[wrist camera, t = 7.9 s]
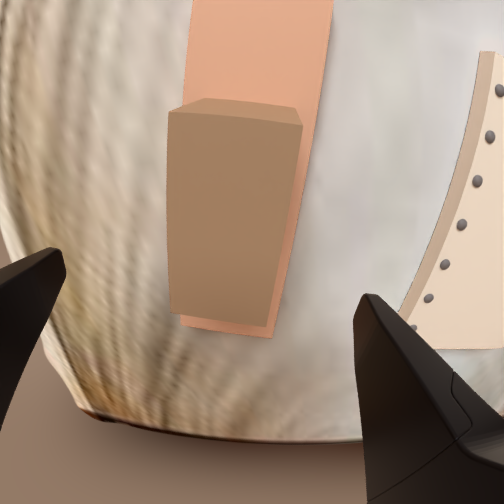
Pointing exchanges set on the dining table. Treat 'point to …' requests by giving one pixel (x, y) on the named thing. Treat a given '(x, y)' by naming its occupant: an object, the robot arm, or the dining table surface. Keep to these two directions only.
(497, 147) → the board
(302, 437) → the dining table surface
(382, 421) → the robot arm
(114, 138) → the dining table surface
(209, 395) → the dining table surface
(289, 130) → the stub
